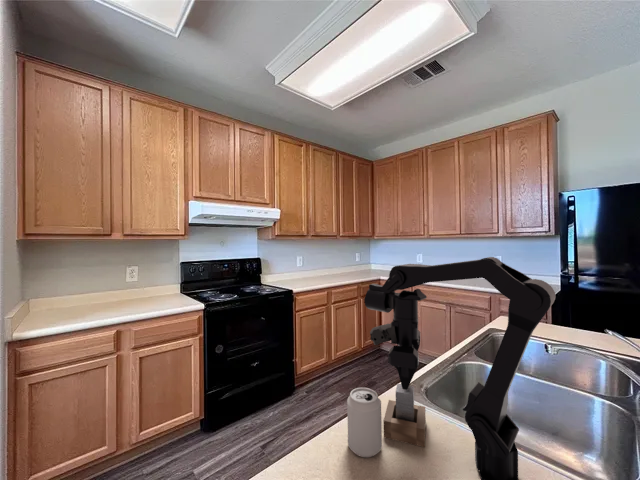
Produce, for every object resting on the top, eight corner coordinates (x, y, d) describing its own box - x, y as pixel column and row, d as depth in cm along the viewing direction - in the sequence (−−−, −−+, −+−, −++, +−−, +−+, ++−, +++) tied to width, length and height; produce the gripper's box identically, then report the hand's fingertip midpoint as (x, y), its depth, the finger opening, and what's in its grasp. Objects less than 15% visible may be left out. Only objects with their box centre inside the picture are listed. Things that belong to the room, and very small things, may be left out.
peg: (414, 426, 70) (413, 386, 70) (413, 437, 66) (413, 394, 66) (397, 423, 72) (397, 383, 71) (396, 433, 68) (395, 391, 68)
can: (382, 462, 59) (381, 405, 59) (346, 457, 61) (345, 401, 60) (381, 437, 66) (380, 386, 66) (349, 433, 68) (348, 383, 68)
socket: (425, 422, 71) (425, 406, 71) (424, 447, 63) (424, 429, 63) (389, 414, 75) (388, 399, 75) (383, 437, 66) (383, 420, 66)
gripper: (378, 304, 81) (379, 359, 81) (364, 323, 63) (365, 393, 64) (420, 307, 77) (420, 365, 77) (417, 328, 59) (418, 403, 60)
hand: (406, 379), depth 69 cm, fingers open, 9 cm apart
